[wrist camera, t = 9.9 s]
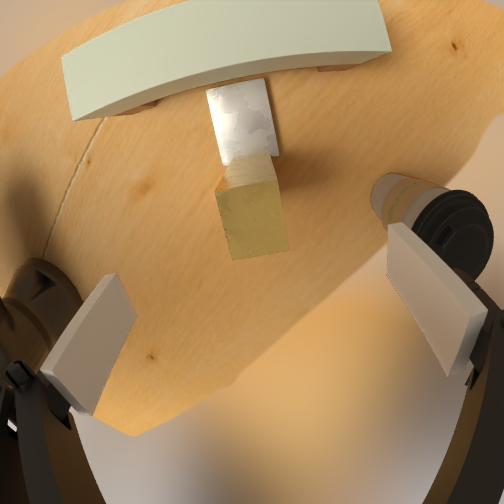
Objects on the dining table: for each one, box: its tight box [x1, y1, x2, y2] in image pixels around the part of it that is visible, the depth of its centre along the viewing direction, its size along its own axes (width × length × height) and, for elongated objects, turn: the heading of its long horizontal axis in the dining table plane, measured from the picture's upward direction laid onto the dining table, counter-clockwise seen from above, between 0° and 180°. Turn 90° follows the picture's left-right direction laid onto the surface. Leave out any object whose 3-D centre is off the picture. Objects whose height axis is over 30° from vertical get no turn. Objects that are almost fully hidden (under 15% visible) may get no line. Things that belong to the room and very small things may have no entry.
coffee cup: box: [371, 173, 494, 281], centre depth 25 cm, size 9×9×15 cm
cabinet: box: [61, 0, 392, 121], centre depth 20 cm, size 24×7×12 cm, turn 102°
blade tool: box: [206, 78, 290, 260], centre depth 23 cm, size 6×13×14 cm, turn 11°
